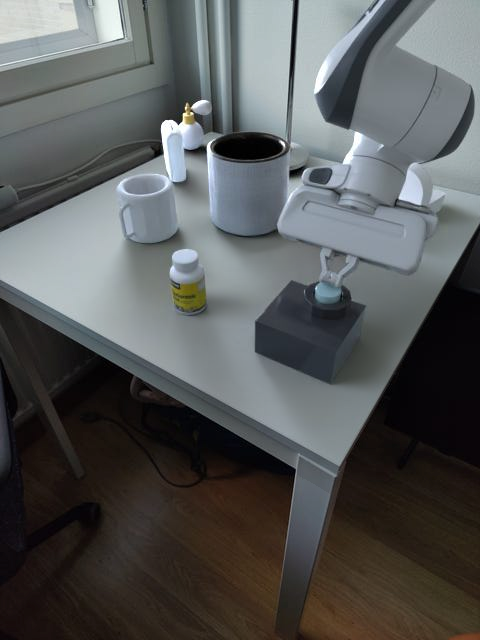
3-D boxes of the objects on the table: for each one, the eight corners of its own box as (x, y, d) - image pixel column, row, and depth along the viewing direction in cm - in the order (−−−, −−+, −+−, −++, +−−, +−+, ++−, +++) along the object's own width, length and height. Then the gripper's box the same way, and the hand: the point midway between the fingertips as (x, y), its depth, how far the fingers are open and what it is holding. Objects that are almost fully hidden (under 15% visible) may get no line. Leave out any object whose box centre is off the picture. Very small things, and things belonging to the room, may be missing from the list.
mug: (146, 213, 100) (139, 168, 93) (188, 224, 96) (183, 178, 89) (105, 243, 91) (93, 196, 84) (149, 257, 87) (140, 208, 80)
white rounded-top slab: (164, 166, 118) (158, 116, 110) (181, 164, 119) (176, 114, 111) (170, 183, 110) (164, 131, 102) (188, 181, 111) (183, 129, 103)
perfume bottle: (172, 146, 128) (167, 100, 120) (203, 139, 132) (200, 94, 124) (185, 155, 123) (181, 108, 115) (216, 147, 127) (214, 101, 119)
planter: (303, 221, 96) (309, 147, 86) (241, 248, 89) (240, 170, 78) (254, 194, 106) (255, 124, 95) (196, 216, 98) (189, 143, 88)
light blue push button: (343, 297, 66) (345, 286, 65) (333, 311, 64) (335, 300, 62) (320, 290, 67) (322, 278, 66) (309, 303, 65) (311, 291, 64)
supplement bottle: (168, 311, 75) (160, 261, 68) (183, 292, 79) (177, 243, 72) (198, 319, 73) (193, 269, 67) (212, 299, 77) (208, 249, 71)
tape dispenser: (354, 221, 96) (363, 171, 89) (404, 194, 105) (415, 146, 97) (394, 239, 90) (406, 187, 83) (442, 208, 99) (457, 159, 92)
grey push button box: (361, 334, 70) (370, 293, 65) (330, 384, 63) (337, 342, 58) (290, 308, 75) (293, 268, 70) (254, 352, 68) (254, 310, 62)
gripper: (443, 218, 62) (404, 313, 62) (305, 184, 71) (272, 268, 71) (443, 201, 56) (401, 306, 57) (294, 166, 65) (258, 258, 65)
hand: (329, 285), depth 64 cm, fingers closed, pressing on light blue push button
